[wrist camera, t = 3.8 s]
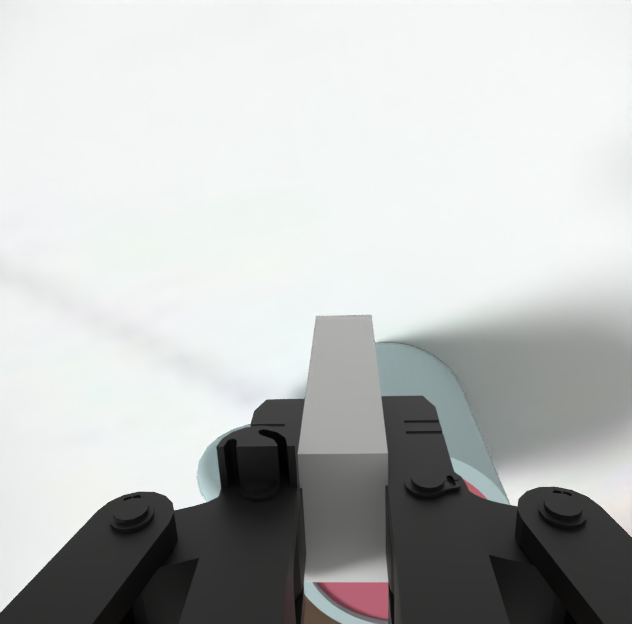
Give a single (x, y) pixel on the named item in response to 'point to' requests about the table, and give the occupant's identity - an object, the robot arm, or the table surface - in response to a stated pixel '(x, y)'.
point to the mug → (462, 443)
